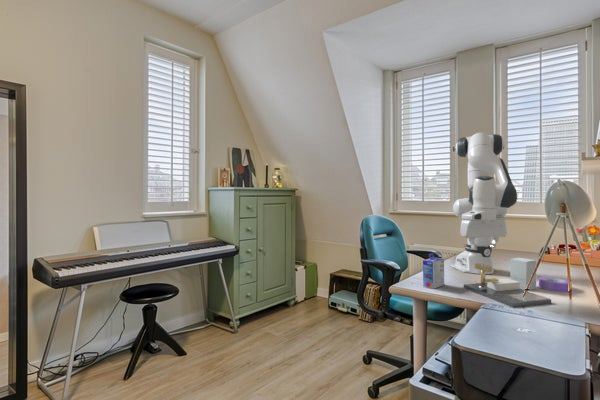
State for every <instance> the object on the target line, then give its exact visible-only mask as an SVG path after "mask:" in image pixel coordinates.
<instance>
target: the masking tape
mask: <svg viewBox="0 0 600 400" xmlns="http://www.w3.org/2000/svg"><path fill="white" fill-rule="evenodd" d="M568 280H569V279H565V278H559V277H555V276H540V277H538V287H539V288H541V289H543V290H546V291H551V292H558V293H568Z"/></svg>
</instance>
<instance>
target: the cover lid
mask: <svg viewBox="0 0 600 400" xmlns="http://www.w3.org/2000/svg"><path fill="white" fill-rule="evenodd" d="M497 279H498V278H497ZM498 280H499V281H498V282H486V283H487V287H488V288H491V289H494V290H497V291H505V290H517V289H520V282H518V281H515V280H511V279H510V278H499V279H498Z"/></svg>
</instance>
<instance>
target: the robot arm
mask: <svg viewBox="0 0 600 400" xmlns="http://www.w3.org/2000/svg"><path fill="white" fill-rule="evenodd" d="M504 145H505V142H504V139H503V137H502V136H501V134H496V133H493V134H487V133H484V132H476V133H475V134H473V135H471V136H463V137H461V138H458V139H457V142H456V143H455V151H456V154H457V156H458V157H460V158H467V161H468V162H467V171H466V172H467V187H468V197H465V198H464V197H463V198H458V199H456V200H455V201H454V203H453V206H452V211H453V214H454V215H455V216H456V217H457V218H458V219H460V220H461V223H460V228H459V229H460V234H459V235H460V236H461V237H462V238H464V239H467V244H465V245H463V247H465V248H464V251H462V252H461V253H458V255H456V258H455V263H451V264H450V267H452V268H454V269H456V270H458V271H460V272H463V273H470V274H478V275H479V274H480V275H481V270H479V269H476V268H475V263H480V264H483V265H487V266H490V267H492V272H486V271H485V275H492V274H494V273H495V268H494V265H493V263H494V262H493V256H492V253H493V252H492V249H496V248H497V243H498V242H499V239H500V238H505V237H506V236H507V233H508V232H507V230H508V229H507V224H506V218H505V216H506V215H507V213H508V209H510V208H511V207H513V206H514V205H515V204H516V203H517V202H518V192H517V190H516V186H515V185H514V184H513V181H512V179H511V177H510V176H511V175H510V173H509V171H508V168H507V166H506V163H505V161H504V160H503V159H502V158H501V157H500V156H498V155H500V154H501V153H502V152H503V150H504V147H505V146H504ZM491 174H494V175H495V176H496V177H497V180H498V182H499V184H497V183H496V178H494V177H493V176H492V175H491Z"/></svg>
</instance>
